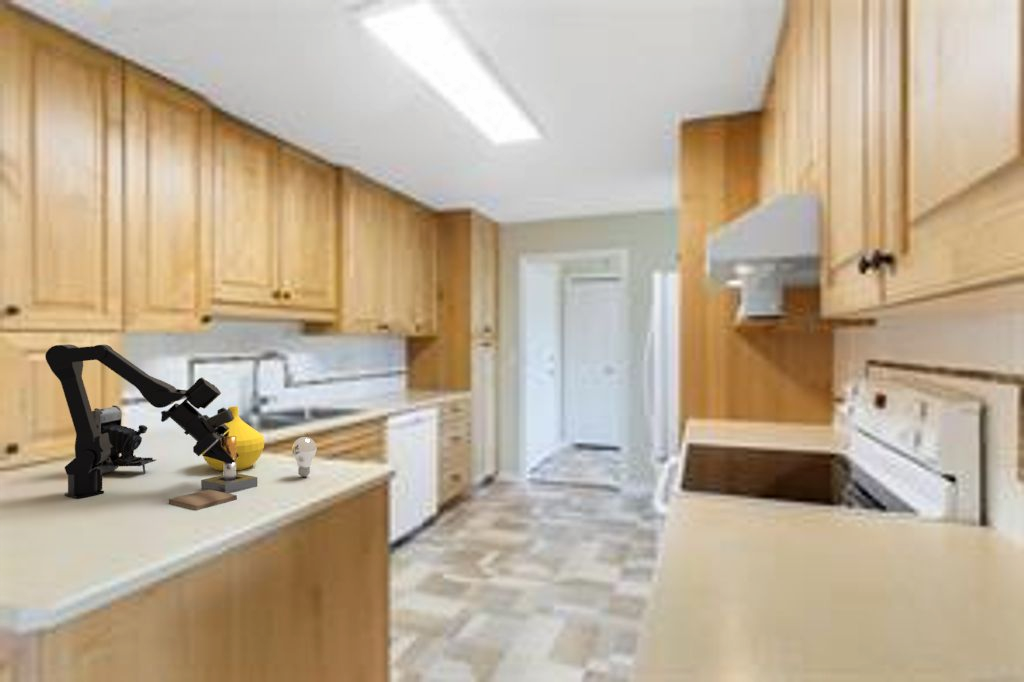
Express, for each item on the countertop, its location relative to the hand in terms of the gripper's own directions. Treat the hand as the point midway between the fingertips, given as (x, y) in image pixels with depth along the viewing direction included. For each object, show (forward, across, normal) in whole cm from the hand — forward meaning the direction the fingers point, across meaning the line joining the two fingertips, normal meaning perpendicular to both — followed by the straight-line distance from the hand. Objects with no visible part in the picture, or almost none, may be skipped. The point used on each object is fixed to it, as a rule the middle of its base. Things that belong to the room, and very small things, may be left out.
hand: (235, 459), depth 166 cm
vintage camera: (-19, +23, +30) cm, 42 cm away
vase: (+2, +25, +9) cm, 27 cm away
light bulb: (+18, +8, -7) cm, 21 cm away
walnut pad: (+2, -13, +9) cm, 16 cm away
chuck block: (+4, 0, +6) cm, 8 cm away
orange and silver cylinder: (+4, 0, +6) cm, 8 cm away
